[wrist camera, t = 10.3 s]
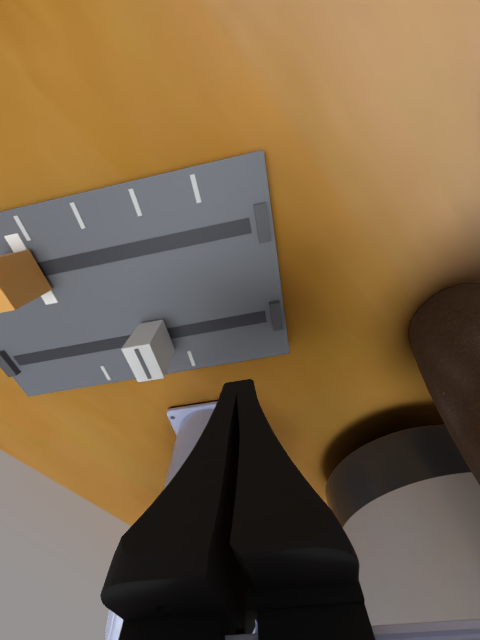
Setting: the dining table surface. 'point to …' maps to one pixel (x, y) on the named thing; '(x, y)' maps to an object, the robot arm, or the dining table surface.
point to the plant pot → (452, 363)
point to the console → (147, 275)
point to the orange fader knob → (20, 280)
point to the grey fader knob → (149, 351)
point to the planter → (411, 526)
